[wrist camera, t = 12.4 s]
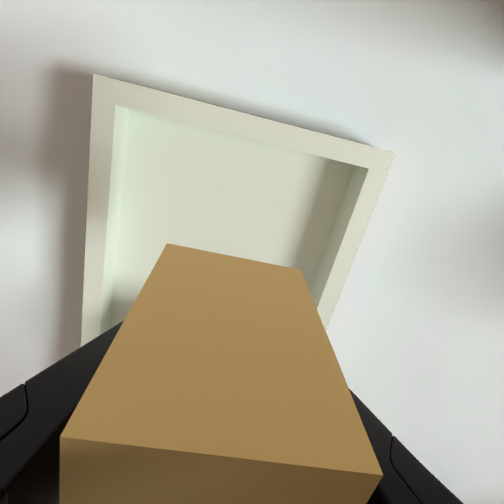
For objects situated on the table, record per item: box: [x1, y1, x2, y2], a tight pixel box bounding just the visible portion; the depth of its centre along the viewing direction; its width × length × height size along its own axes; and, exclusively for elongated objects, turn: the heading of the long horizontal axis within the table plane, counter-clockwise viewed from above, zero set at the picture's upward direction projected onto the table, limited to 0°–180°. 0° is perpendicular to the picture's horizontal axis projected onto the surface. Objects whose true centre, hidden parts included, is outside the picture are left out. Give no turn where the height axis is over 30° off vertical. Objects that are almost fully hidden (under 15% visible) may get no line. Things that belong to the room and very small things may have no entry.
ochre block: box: [59, 243, 383, 504], centre depth 7 cm, size 4×4×6 cm
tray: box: [81, 73, 396, 347], centre depth 19 cm, size 20×14×2 cm
